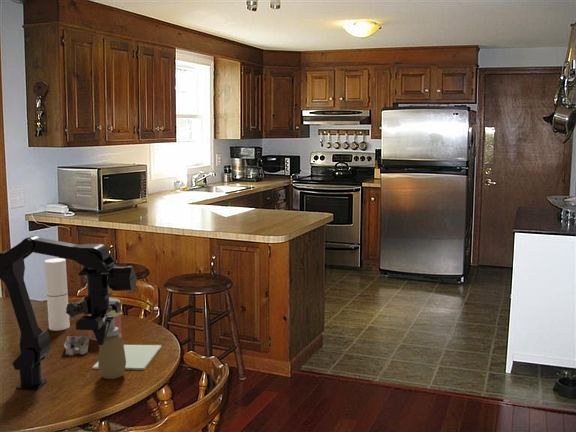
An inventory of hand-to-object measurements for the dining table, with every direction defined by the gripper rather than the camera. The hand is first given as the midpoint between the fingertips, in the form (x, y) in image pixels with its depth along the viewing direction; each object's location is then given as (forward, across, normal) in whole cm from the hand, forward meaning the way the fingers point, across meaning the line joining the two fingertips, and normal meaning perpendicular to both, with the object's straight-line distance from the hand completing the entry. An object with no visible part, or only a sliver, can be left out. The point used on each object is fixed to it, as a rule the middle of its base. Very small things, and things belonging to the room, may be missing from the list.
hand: (101, 344), depth 182 cm
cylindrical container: (+13, -52, -36) cm, 64 cm away
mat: (+12, -23, 0) cm, 26 cm away
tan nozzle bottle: (+13, -8, 0) cm, 15 cm away
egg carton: (+13, -29, -20) cm, 38 cm away
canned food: (+13, -44, -16) cm, 48 cm away
